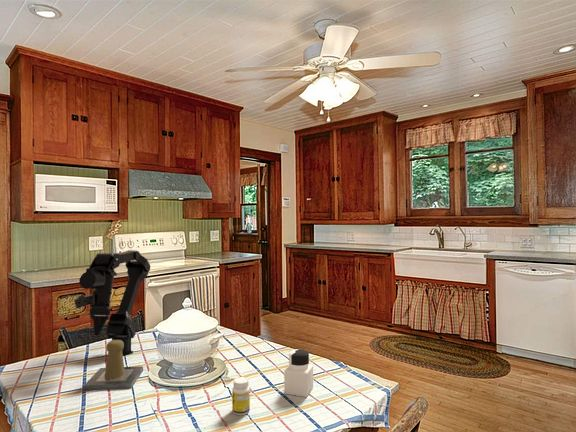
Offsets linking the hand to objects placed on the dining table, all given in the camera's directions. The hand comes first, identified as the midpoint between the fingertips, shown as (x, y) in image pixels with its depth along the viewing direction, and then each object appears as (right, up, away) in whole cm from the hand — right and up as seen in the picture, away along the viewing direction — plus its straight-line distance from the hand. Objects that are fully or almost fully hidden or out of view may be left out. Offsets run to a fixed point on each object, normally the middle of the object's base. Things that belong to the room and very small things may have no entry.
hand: (96, 332), depth 133 cm
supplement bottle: (+55, -12, -31) cm, 64 cm away
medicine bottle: (+71, -12, -18) cm, 74 cm away
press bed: (+12, -12, -11) cm, 20 cm away
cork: (+11, -11, -11) cm, 19 cm away
